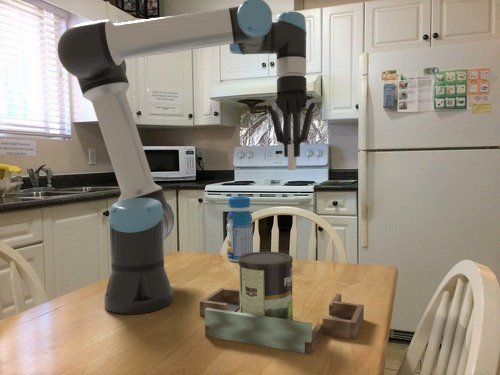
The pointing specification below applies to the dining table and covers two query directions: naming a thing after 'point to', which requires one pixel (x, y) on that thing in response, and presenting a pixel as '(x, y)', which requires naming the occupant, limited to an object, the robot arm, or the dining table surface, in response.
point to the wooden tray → (276, 323)
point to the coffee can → (266, 284)
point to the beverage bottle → (239, 228)
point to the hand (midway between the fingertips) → (292, 169)
